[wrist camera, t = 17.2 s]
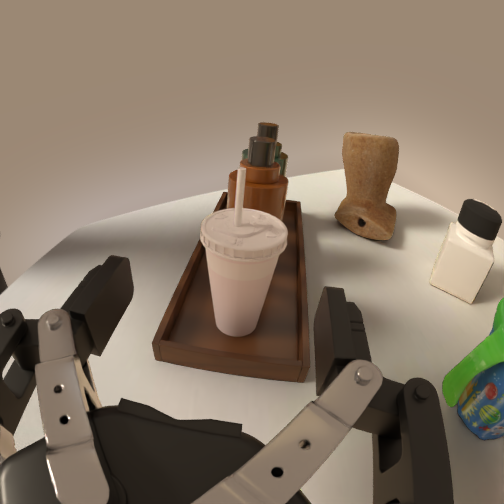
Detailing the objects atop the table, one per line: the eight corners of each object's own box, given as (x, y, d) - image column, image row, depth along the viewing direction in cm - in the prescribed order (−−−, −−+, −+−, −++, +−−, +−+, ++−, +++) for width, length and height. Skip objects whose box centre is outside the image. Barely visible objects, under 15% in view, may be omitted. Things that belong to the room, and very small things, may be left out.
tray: (303, 382, 23) (310, 367, 22) (155, 360, 24) (151, 343, 22) (298, 214, 49) (300, 201, 48) (222, 204, 50) (223, 191, 49)
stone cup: (339, 196, 58) (353, 122, 50) (396, 216, 54) (417, 140, 46) (313, 224, 47) (331, 127, 39) (387, 250, 42) (416, 152, 34)
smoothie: (194, 303, 29) (194, 156, 22) (257, 294, 31) (275, 155, 24) (209, 354, 24) (212, 188, 17) (282, 340, 26) (316, 185, 19)
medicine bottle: (471, 305, 33) (510, 225, 26) (428, 284, 36) (461, 201, 29) (472, 280, 38) (504, 209, 31) (434, 262, 41) (461, 189, 34)
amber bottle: (213, 259, 35) (218, 136, 28) (246, 240, 40) (256, 130, 32) (254, 282, 33) (270, 149, 25) (285, 259, 37) (305, 142, 29)
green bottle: (228, 220, 44) (235, 122, 36) (254, 208, 48) (263, 119, 41) (262, 236, 41) (275, 130, 34) (286, 222, 45) (300, 127, 38)
